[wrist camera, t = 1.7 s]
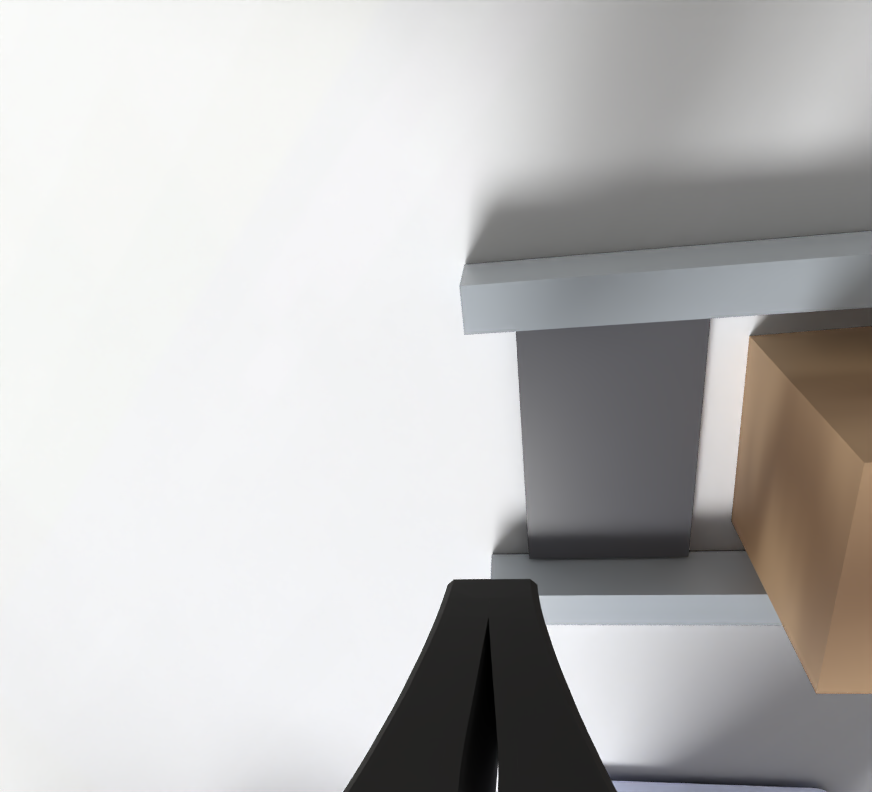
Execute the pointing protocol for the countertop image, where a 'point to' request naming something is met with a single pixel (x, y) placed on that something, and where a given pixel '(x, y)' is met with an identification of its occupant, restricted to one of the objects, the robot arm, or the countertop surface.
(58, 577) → the countertop surface
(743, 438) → the brown rectangular block
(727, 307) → the channel
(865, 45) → the countertop surface
